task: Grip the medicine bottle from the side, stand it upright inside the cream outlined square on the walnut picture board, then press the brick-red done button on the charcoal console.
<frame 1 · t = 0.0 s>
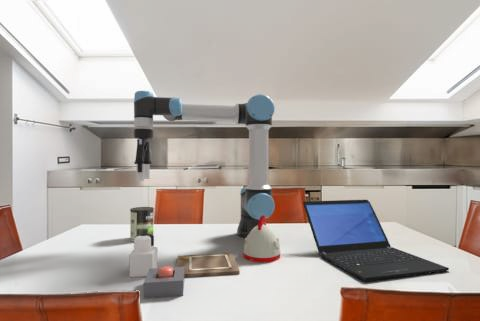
hand: (143, 179, 118), 28 cm above the table, tool pointing down, fingers open, 13 cm apart
done button: (165, 274, 79), point 4 cm above the table, slide at 0.0 cm
picture board: (206, 265, 97), on the table
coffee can: (142, 239, 131), on the table
laptop: (366, 259, 105), on the table
console: (165, 288, 79), on the table
medicine bottle: (143, 273, 90), on the table
kitchen timer: (261, 256, 107), on the table
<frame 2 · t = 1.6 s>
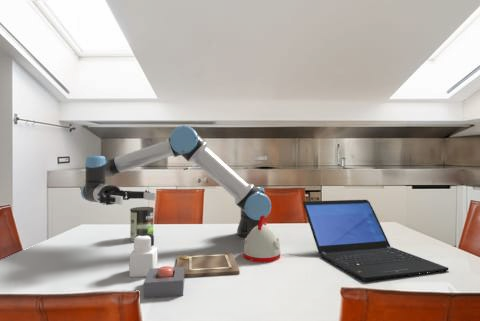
hand: (139, 198, 102), 22 cm above the table, tool horizontal, fingers open, 13 cm apart
nothing on the table moved.
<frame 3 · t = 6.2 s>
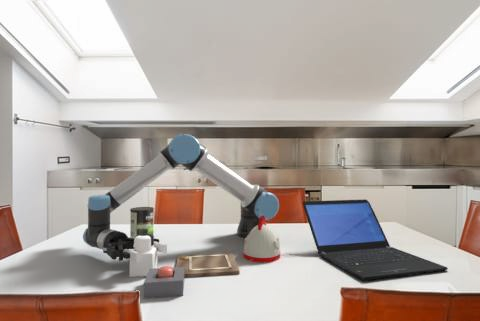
hand: (152, 253, 88), 7 cm above the table, tool horizontal, fingers closed on medicine bottle, 10 cm apart
medicine bottle: (143, 273, 90), on the table, touching gripper
everything else where it was.
when the fingers open (9 cm above the table, at t = 12.1 s): medicine bottle drops 1 cm, resting on picture board.
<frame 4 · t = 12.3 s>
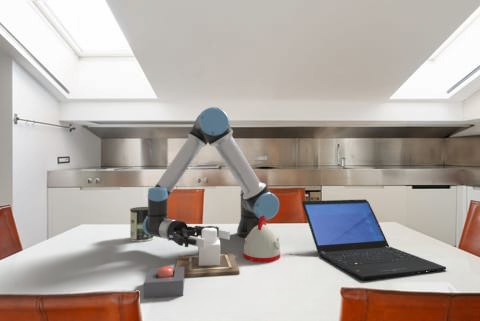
hand: (217, 239, 95), 9 cm above the table, tool horizontal, fingers open, 12 cm apart
medicine bottle: (209, 262, 97), point 1 cm above the table, touching picture board
everything else where it was.
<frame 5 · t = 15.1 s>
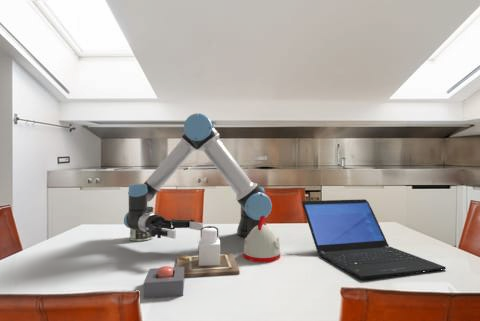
hand: (189, 230, 102), 11 cm above the table, tool horizontal, fingers open, 13 cm apart
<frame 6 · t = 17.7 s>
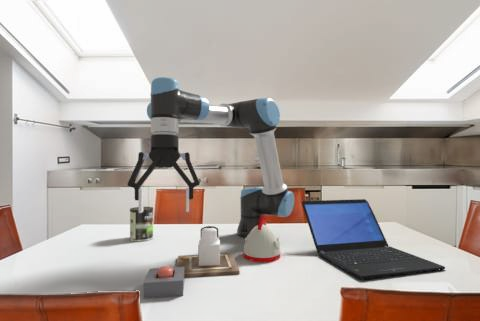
hand: (164, 211, 79), 21 cm above the table, tool pointing down, fingers open, 12 cm apart
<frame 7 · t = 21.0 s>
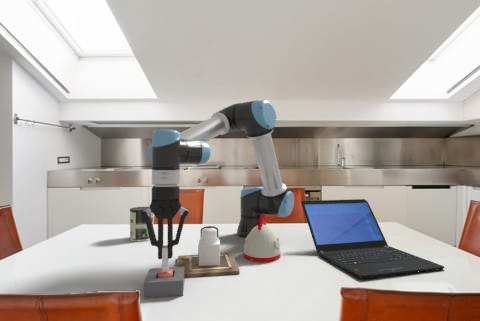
hand: (165, 270, 79), 5 cm above the table, tool pointing down, fingers closed
done button: (165, 276, 79), point 3 cm above the table, slide at 0.6 cm, touching gripper
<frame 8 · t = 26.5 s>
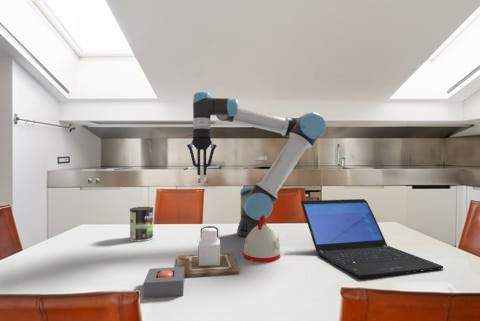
hand: (201, 182, 123), 26 cm above the table, tool pointing down, fingers closed
done button: (165, 278, 79), point 3 cm above the table, slide at 1.2 cm
at the end: medicine bottle 0.1 cm from the target spot on the picture board, point 0.8 cm above the picture board's base; medicine bottle tilted 0°; done button slide at 1.2 cm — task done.
